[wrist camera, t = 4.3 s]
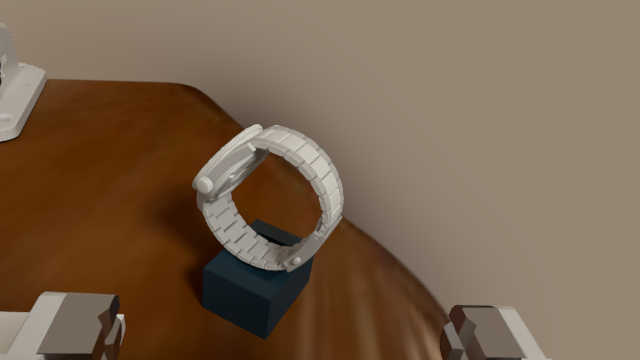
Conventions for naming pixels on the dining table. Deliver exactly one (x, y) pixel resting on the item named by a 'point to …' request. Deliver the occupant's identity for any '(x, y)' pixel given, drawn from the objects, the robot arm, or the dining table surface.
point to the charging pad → (7, 325)
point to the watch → (261, 229)
